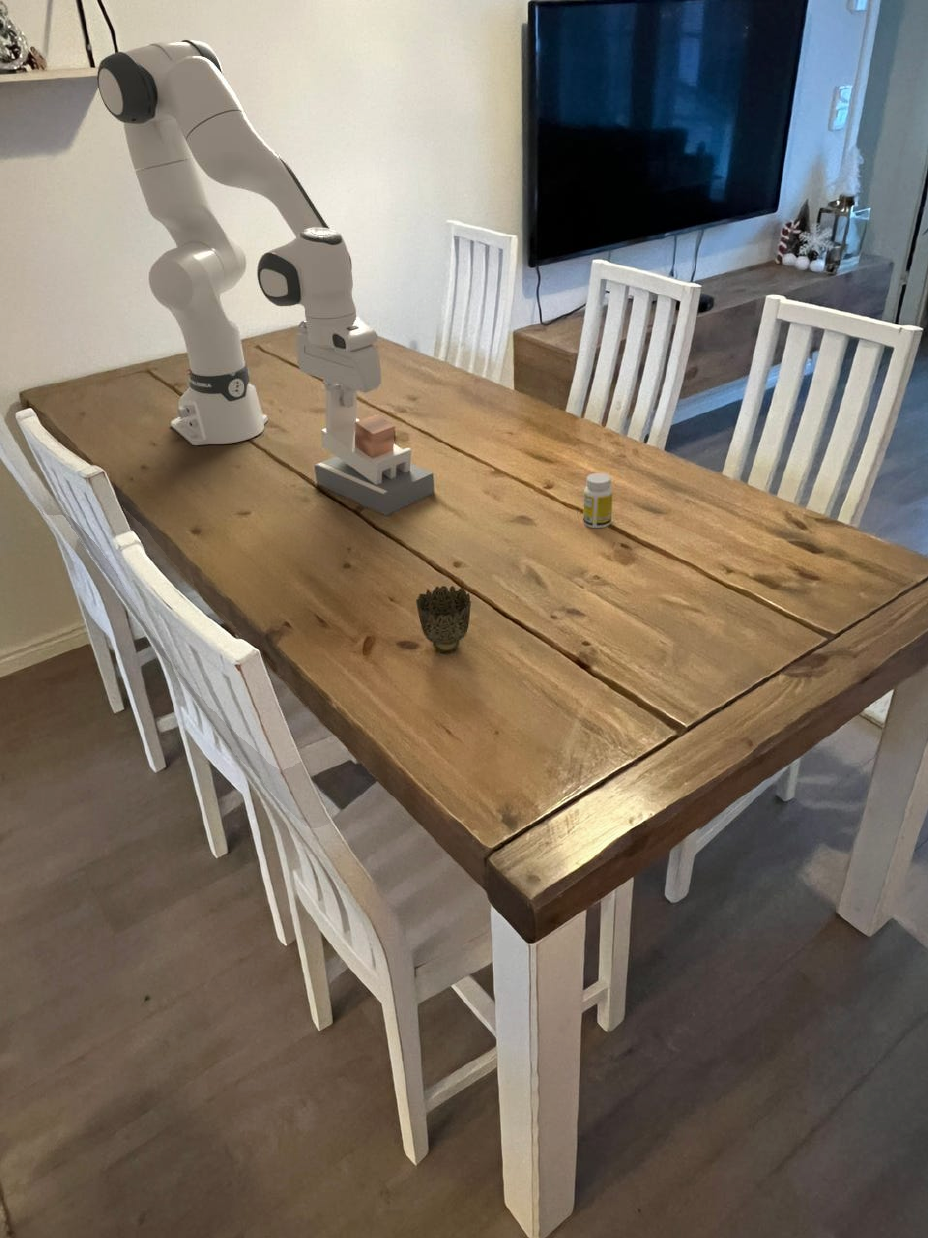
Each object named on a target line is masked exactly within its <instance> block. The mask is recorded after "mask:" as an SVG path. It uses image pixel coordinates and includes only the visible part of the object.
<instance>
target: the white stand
mask: <svg viewBox="0 0 928 1238" xmlns="http://www.w3.org/2000/svg"><path fill="white" fill-rule="evenodd" d="M343 396H344V390H342V385H340V384H336V386H334V387H331V388H328V389H326V388H325V428H323V429H321V447H323V448H324V449H325V450H327V451H329V453H331V454H333V455H334V457H335V456H337V457H338V458H340V459H341V460H342V461H344V462H345V463H347V464H348V465H349V466H351V467H352V468H354V469H355V470H356V471H358V472H359V473H360V474H362V475H363V476H365V477H366V478H367V479H369V480H370V481H372V482H373V483H374V484H376V485H377V484H380V483H381V482H382V473H383V474H385V475H386V476H388V477H389V478H390V479H391V478H394V477H396V467H397V468H399V469H400V470H402V471H403V472H408V471H410V464H411V460H412V459H411V458H412V448H410V446H408V447H405V448H402V447H400V446H398V445H397V444H395V443H394V450H392V451H390V452H387V453H385V454H382V455H380V456H377V457H375V458H371V457H370V456H368V455H367V454H365V453H364V452H362V451H361V450H360V449H358V448H357V447H355V422H357V421H359V420H360V419H359V418H357V407H358V405H357V404H358V403H357V400H358V398H357V397H358V390H355V393H354V396H353V406H352V407H350V408H346V407H343V406H341V400H340V398H341V397H343Z"/></svg>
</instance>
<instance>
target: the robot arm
mask: <svg viewBox="0 0 928 1238" xmlns="http://www.w3.org/2000/svg"><path fill="white" fill-rule="evenodd" d="M96 76H97V79H96V80H97V87H98V91H99V95H100V97H101V100H102V102H103V104H104V106H105V107H106V109H107V110H108V112H109V113H110V114H111V115H112V116H113V117H114V118H115V119H116V120H117V121H119V122H121V123H122V124H123V128H124V134H125V138H126V139H125V140H126V143H127V148H128V151H129V152H128V153H129V154H130V156H129V157H130V158H131V162H132V165H133V168H134V171H135V174H136V178H137V181H138V183H139V186H140V188H141V192H142V194H143V198H144V201H145V203H146V206H147V209H148V212H149V213H150V215H151V217H152V218H153V219H155V220H156V221H158V222H159V223H160V224H162V225H163V227H164V228H165V229H166V230H167V232H168V233H169V235H170V236H171V238H172V240H173V241H174V243H175V245H176V247H174V248H172V249H169V250H167V251H165V252H164V253H163V254H161V256H159V258H158V259H157V260H156V261H155V262H154V263H153V264H152V265H151V267H150V269H149V272H148V285H149V288H150V290H151V293H152V295H153V296H154V298H155V299H156V300H157V301H158V302H159V303H160V304H161V305H162V306H164V307H165V308H166V309H168V310H169V311H170V312H171V313H172V316H173V317H174V319H175V320H176V323H177V325H178V326H179V327H178V328H179V329H180V332H181V333H182V337H183V340H184V344H185V348H186V353H187V357H188V360H189V365H190V366H189V367H190V368H189V369H187V370H186V372H188V373H187V374H186V375H187V376H189V377H188V380H189V387H188V388H187V390H186V391H185V392H184V393H183V394H182V395H181V397H179V398H178V407H177V409H176V411H177V414H178V417H176V418H174V419H173V420H171V422H170V423H171V428H173V429H174V430H175V431H176V432H177V433H179V435H181V436H182V437H184V439H185V440H187V441H188V442H189V443H190V444H191V445H194V446H199V445H200V446H201V445H202V446H203V445H225V444H233V443H234V444H235V443H239V442H243V441H247V440H251V439H253V438H254V437H256V436H258V435H260V434H261V433H262V432H263V431H264V430H265V429H264V428H265V424H266V422H268V420H269V418H268V416H267V414H264V413H263V412H262V407H261V404H260V400H259V396H258V393H257V388H256V387H255V385H253V384H252V383H250V382H251V377H250V372H249V371H250V370H249V367H248V364H247V363H246V362H245V358H244V351H243V346H242V340H241V335H240V330H239V327H238V325H236V323H235V322H233V321H232V320H231V319H229V317H228V316H227V314H226V312H225V310H224V308H223V306H222V302H221V295H222V294H224V293H225V292H228V291H230V290H231V289H232V288H234V287H235V285H237V283H238V282H239V281H240V280H241V279H242V277H243V276H244V274H245V272H246V268H247V259H246V255H245V254H246V253H245V251H244V250H243V248H242V246H241V245H240V243H239V242H238V241H237V240H235V239H234V238H233V237H231V236H230V235H229V234H228V233H227V232H226V231H225V229H224V227H223V226H222V224H221V223H220V221H219V219H218V217H217V216H216V214H215V212H214V210H213V209H212V206H211V204H210V202H209V199H208V197H207V195H206V190H205V187H204V185H203V182H202V179H201V177H200V173H199V169H198V167H197V164H198V166H199V167H200V169H201V170H202V171H203V172H204V173H205V174H206V176H207V177H209V178H210V179H211V180H213V181H215V182H217V183H219V184H221V185H224V186H227V187H231V188H236V189H241V190H246V191H249V192H252V193H254V194H257V195H260V196H262V197H264V198H265V199H267V200H268V201H269V202H270V203H272V204H273V205H274V206H275V207H276V208H277V210H278V211H279V213H280V215H281V216H282V218H283V219H284V221H285V222H286V224H287V225H288V227H289V229H290V230H291V232H292V234H293V235H294V237H295V238H293V240H291V241H290V242H288V243H286V244H284V245H281V246H279V247H277V248H274V249H272V250H269V251H267V252H265V253H264V254H263V255H261V257H260V258H259V261H258V265H257V273H256V274H257V281H258V285H259V288H260V290H261V293H263V296H265V299H267V300H268V301H269V302H271V304H274V305H275V306H277V307H292V306H295V305H300V306H301V307H303V308H304V315H305V316H304V317H305V320H302V321H301V322H300V323H299V324H298V326H297V335H296V341H295V343H296V344H295V346H296V347H295V348H296V363H297V366H298V368H299V371H301V372H302V373H304V374H307V375H310V376H314V377H317V378H320V379H322V383H323V386H324V388H325V390H326V389H328V388H331V387H334V386H337V385H342V390H344V396H343V397H341V398H340V400H341V406H343V407H346V408H350V407H352V406H353V396H354V393H355V390H357V392H362V393H364V394H366V393H370V392H373V391H375V390H378V389H379V388H380V386H381V384H382V368H381V362H380V356H379V355H380V354H379V351H378V349H377V348H376V347H377V346H375V345H374V344H377V342H378V333H377V331H376V330H375V329H373V328H372V327H371V326H369V325H368V324H367V323H366V322H364V321H363V320H362V318H360V317H359V316H357V309H356V308H357V307H356V305H355V302H354V299H353V293H352V292H353V287H354V284H353V271H352V269H353V267H352V258H351V256H350V252H349V251H348V247H347V245H346V242H345V239H344V238H343V237H344V236H342V234H340V233H339V232H337V231H336V230H334V229H331V228H330V227H329V225H328V223H326V221H325V219H323V217H322V216H321V214H320V212H319V210H318V209H317V208H316V206H315V204H314V203H313V201H312V199H311V198H310V196H309V195H308V194H307V191H306V190H305V188H304V187H303V185H302V184H301V182H300V181H299V179H298V178H297V176H296V175H295V173H294V171H292V168H291V167H290V166H289V164H288V163H287V162H286V161H285V160H284V158H283V157H282V156H281V155H280V154H278V153H277V152H276V151H274V150H273V149H272V148H271V147H270V146H269V145H268V144H267V143H266V142H265V141H264V140H263V139H262V138H261V137H260V135H259V134H258V132H257V131H256V130H255V128H254V127H253V125H252V124H251V122H250V121H249V119H248V117H247V115H246V113H245V111H244V109H243V107H242V105H241V104H240V101H239V100H238V98H237V96H236V95H235V92H234V90H233V89H232V88H231V86H230V85H229V83H228V82H227V80H226V79H225V78H224V71H223V68H222V65H221V62H220V60H219V58H218V56H217V54H216V53H215V52H214V50H213V49H212V48H211V47H210V46H209V45H208V44H207V43H205V42H202V41H199V40H194V39H193V40H192V39H184V40H181V41H167V42H166V41H165V42H164V41H163V42H155V43H154V42H153V43H150V44H149V45H146V46H141V47H138V48H133V49H131V50H128V51H124V52H123V51H117V52H115V53H112V54H109V55H108V56H106V57H104V58H103V59H102V60H101V61H100V63H99V65H98V70H97V75H96ZM196 163H197V164H196Z"/></svg>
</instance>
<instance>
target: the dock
mask: <svg viewBox="0 0 928 1238" xmlns="http://www.w3.org/2000/svg"><path fill="white" fill-rule="evenodd" d="M314 470H315V471H314V472H315V478H316V479H315V480H316V485H318V486H320V485H321V487H322V486H323V488H324V489H327V490H329V489H330V490H329V491H331V490H332V492H333V491H334V493H336V494H338V495H341V496H343V497H345V498H347V499H349V500H350V501H353V502H356V503H357V502H358V504H360V505H362V506H364V507H366V508H369V509H371V510H373V511H375V512H376V513H380V514H381V515H384V516H388V515H390V514H392V513H394V512H396V511H398V510H400V509H403V508H405V507H407V506H409V505H411V504H413V503H415V502H419V500H422V499H424V498H426V497H429V496H430V495H433V494H435V478H434V472H432V471H430V470H427V469H425V468H423V467H420V466H417V465H414V464H412V463H410V471H408V472H403V471H402V470H400V469H399V468H397V467H396V477H394V478H391V479H390V478H389V477H388V476H386V475H385V474H383V473H382V482H381V483H380V484H377V485H376V484H374V483H373V482H372V481H370V480H369V479H367V478H366V477H365V476H363V475H362V474H360V473H359V472H358V471H356V470H355V469H354V468H352V467H351V466H349V465H348V464H347V463H345V462H344V461H342V460H341V459H340V458H338V457H337V456H335V455H334V456H333V457H330V458H327V459H326V460H323V461H321V462H318V463H316V464H314Z"/></svg>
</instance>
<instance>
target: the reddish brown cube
mask: <svg viewBox="0 0 928 1238" xmlns="http://www.w3.org/2000/svg"><path fill="white" fill-rule="evenodd" d="M391 423H392V422H389V421H388V420H387V419H386V418H383V417H382V416H381V415H379V414H378V413H376V414H373V415H370V416H367V417H365V418H363V419H359V421H357V422H355V447H357V448H358V449H360V450H361V451H362V452H364V453H365V454H367V455H368V456H370V457H371V458H375V457H377V456H380V455H382V454H385V453H387V452H390V451H392V450H394V444H395V437H394V432H395V433H396V426H395V425H394V424H393V423H392V424H391Z"/></svg>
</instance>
